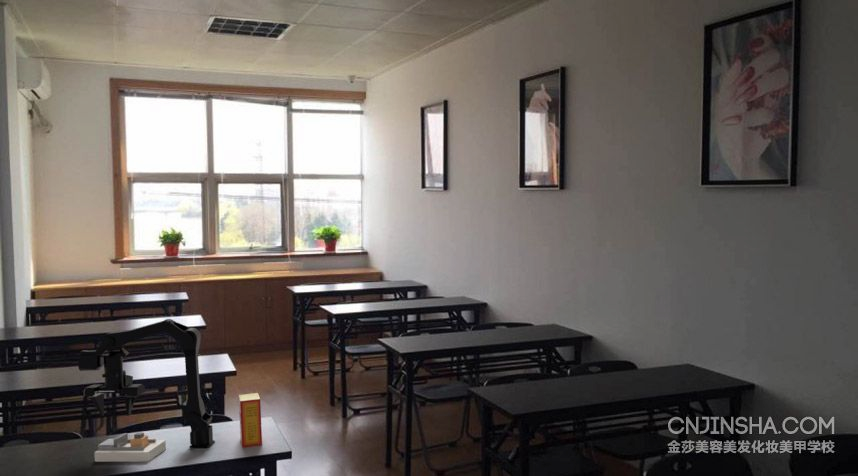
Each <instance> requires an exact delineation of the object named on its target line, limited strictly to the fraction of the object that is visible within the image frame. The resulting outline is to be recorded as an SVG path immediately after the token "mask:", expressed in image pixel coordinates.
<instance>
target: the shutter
mask: <svg viewBox="0 0 858 476" xmlns="http://www.w3.org/2000/svg"><path fill="white" fill-rule="evenodd" d="M128 439H129V438H128V433H127V432H124V433H122V434H119V436H117V437H116V438H108V439H105V440H104V441H102V442H101V443H99V444H98V446H97V447H98V450H99V447H121V446H122V445H124V444H126V443H127V442H128Z"/></svg>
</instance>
